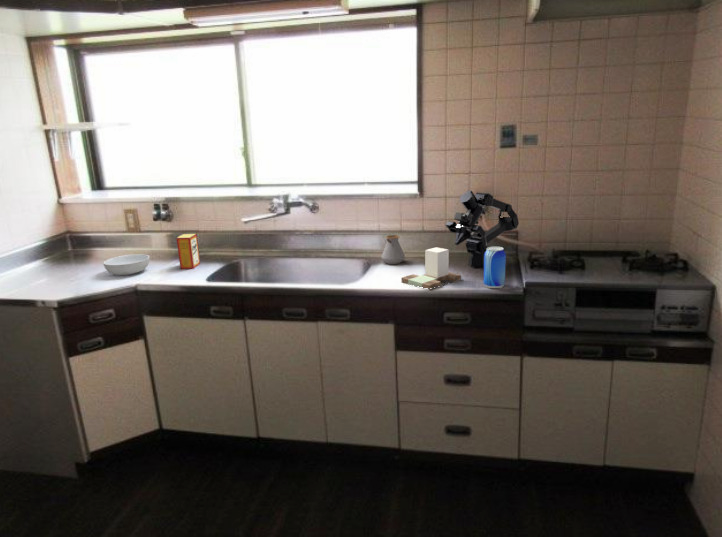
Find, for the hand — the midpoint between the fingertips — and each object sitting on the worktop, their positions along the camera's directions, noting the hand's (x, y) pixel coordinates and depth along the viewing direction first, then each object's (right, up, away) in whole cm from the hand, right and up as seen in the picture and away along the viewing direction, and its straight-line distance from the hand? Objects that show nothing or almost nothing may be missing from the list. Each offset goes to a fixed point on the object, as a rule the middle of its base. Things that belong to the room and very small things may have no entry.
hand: (456, 244), depth 234 cm
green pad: (-16, -17, -10) cm, 25 cm away
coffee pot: (-27, -9, +21) cm, 36 cm away
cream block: (-9, -13, -5) cm, 17 cm away
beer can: (+12, -18, -17) cm, 28 cm away
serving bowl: (-155, -13, +26) cm, 158 cm away
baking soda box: (-127, -10, +33) cm, 132 cm away
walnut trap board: (-12, -16, -6) cm, 21 cm away
